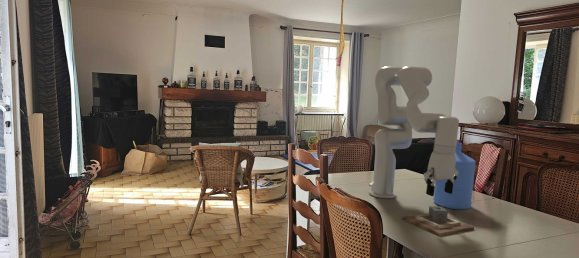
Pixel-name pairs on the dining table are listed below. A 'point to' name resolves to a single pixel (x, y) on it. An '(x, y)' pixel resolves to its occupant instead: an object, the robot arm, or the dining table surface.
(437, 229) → the pocket board
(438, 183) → the water jug
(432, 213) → the dice cube
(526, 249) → the dining table surface
